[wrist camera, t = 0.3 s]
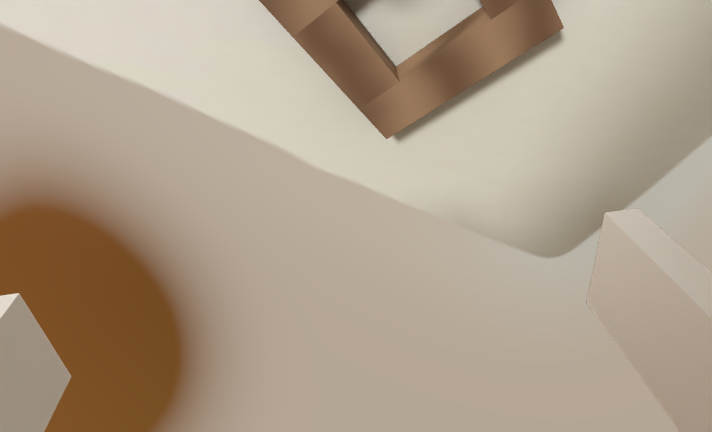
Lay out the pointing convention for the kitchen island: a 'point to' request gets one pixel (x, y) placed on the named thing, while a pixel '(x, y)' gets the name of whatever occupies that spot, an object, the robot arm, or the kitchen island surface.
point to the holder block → (422, 70)
